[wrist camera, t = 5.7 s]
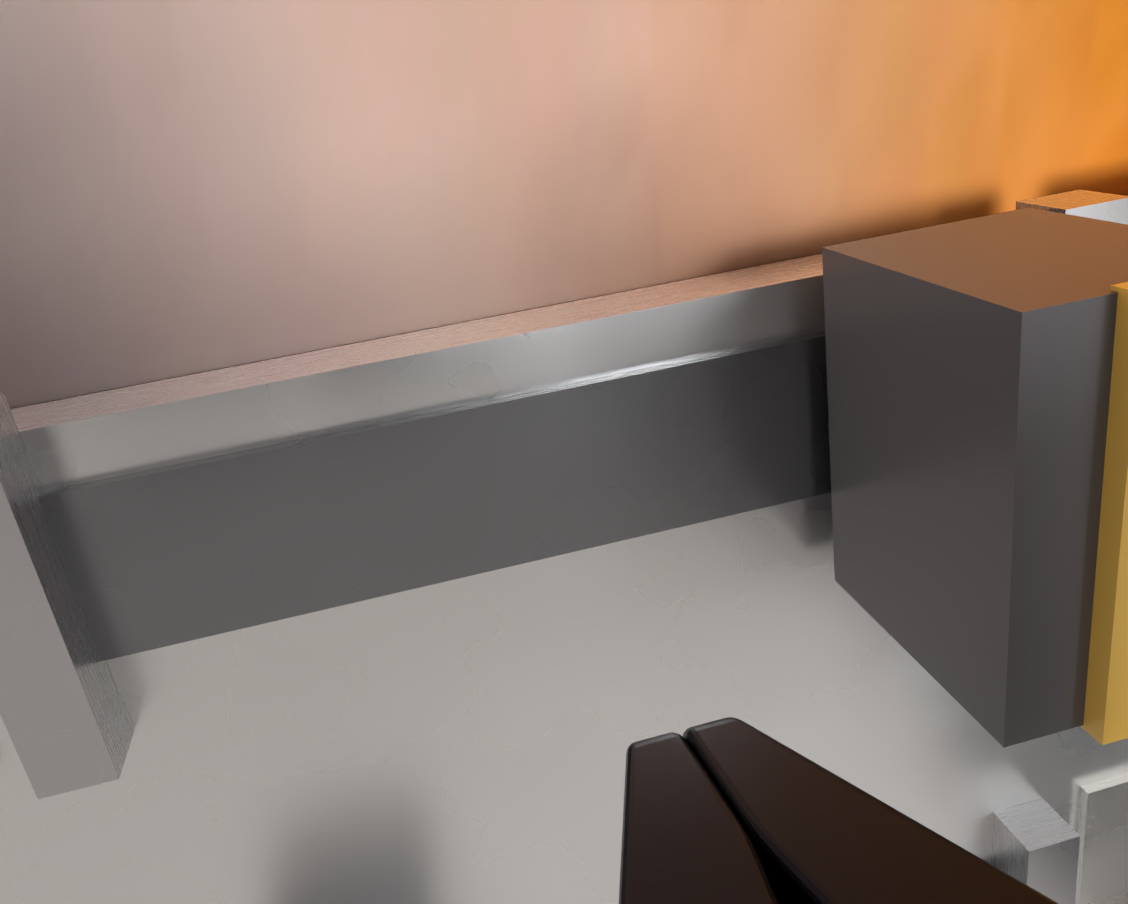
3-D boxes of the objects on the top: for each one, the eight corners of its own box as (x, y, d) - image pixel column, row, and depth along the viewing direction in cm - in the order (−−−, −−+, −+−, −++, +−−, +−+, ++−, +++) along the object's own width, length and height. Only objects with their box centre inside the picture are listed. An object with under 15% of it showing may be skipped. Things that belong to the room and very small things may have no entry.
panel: (1211, 146, 15) (1345, 156, 13) (1128, 898, 21) (1211, 983, 19) (-332, 434, 12) (-468, 504, 10) (90, 1225, 18) (59, 1368, 16)
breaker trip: (1029, 203, 13) (1330, 253, 9) (1015, 538, 15) (1259, 700, 11) (822, 243, 12) (1044, 313, 9) (835, 582, 14) (1020, 767, 10)
